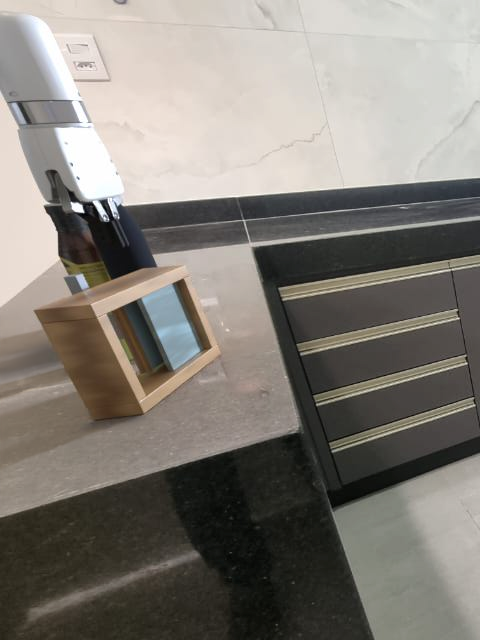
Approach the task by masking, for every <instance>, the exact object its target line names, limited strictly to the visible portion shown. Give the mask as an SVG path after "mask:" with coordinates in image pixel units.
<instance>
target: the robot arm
mask: <svg viewBox="0 0 480 640" xmlns="http://www.w3.org/2000/svg"><path fill="white" fill-rule="evenodd" d="M0 93H1V95H2V97H3V99H4V101H5V103H6V105H7V107H8V109H9V111H10V113H11V115H12V118H13V119H14V121H15V123H16V125H17V127H18V129H17V135H18V140H19V142H20V146H21V149H22V152H23V155H24V158H25V161H26V164H27V165H28V167H29V170H30V172H31V175H32V177H33V179H34V181H35V184H36V186H37V188H38V190H39V192H40V194H41V196H42V198H43V199H44V201H46V202H47V204H61V205H62V208H63V211H64V212H65V213H71V214H77V215H78V216H79V217H80V218H81V220H82V221H83V222H84V223H85V224H87V225H88V229H89V230H90V231H91V233H92V235H93V237H94V239H95V241H96V243H97V246H98V248H99V249H101V250H106V249H117V248H123V247H126V246H129V242H128V240H127V238H126V235H125V233H124V231H123V229H122V227H121V225H120V222H119V220H118V219H119V214H118V211H117V206H119V205H120V204H123V198H122V197H121V196H122V195H123V194H124V193H125V187H124V184H123V182H122V179H121V176H120V174H119V173H118V170H117V168H116V165H115V164H114V162H113V160H112V158H111V156H110V154H109V152H108V150H107V149H106V147H105V145H104V143H103V142H102V140H101V138H100V137H99V135H98V134H97V132H96V130H95V129H94V128H95V126H94V123H93V121H92V119H91V117H90V114H89V111H88V110H87V108H86V104H85V103H84V102H83V99H82V96H81V95H80V92H79V90H78V88H77V86H76V83H75V81H74V79H73V76H72V74H71V71H70V70H69V67H68V65H67V62H66V60H65V58H64V57H63V54H62V52H61V50H60V47H59V46H58V43H57V41H56V38H55V36H54V35H53V32H52V30H51V28H50V27H49V25H48V24H47V23H46V22H45V21H44V20H43V19H41V18H39V17H37V16H35V15H33V14H29V13H25V12H19V11H11V10H10V11H8V10H0Z"/></svg>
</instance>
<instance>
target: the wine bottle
mask: <svg viewBox="0 0 480 640" xmlns="http://www.w3.org/2000/svg"><path fill="white" fill-rule="evenodd" d="M122 204H123V203H122ZM122 204H120V205H119V206H117V211H118V214H119V219H118V220H119V222H120V225H121V227H122V229H123V231H124V233H125V235H126V238H127V240H128V242H129V246H126V247H123V248H117V249H106V250H101V249H99V248H98V246H97V243H96V241H95V239H94V237H93V235H92V233H91V236H92V239H93V242H94V244H95V246H96V248H97V250H98V252H99V254H100V257H101V259H102V261H103V263H104V265H105V267H106V269H107V272H108V274H109V276H110V278H111V280H114V279H117V278H119V277H122V276H124V275H127V274H130V273H132V272H135V271H138V270H140V269H143V268H155V267H158V264H157V262H156V259H155V258H154V257H155V256H154V255H153V253H152V250H151V248H150V245H149V243H148V241H147V239H146V235H145V233H144V231H143V230H142V228H141V227H140V225H139V224H138V223H137V221H136V220H135V218H134V216H133V215H131V214H130V212H129V211H128V210H127V208H125V207H124V205H122ZM90 232H91V231H90Z"/></svg>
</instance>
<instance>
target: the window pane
mask: <svg viewBox="0 0 480 640" xmlns="http://www.w3.org/2000/svg"><path fill="white" fill-rule="evenodd" d="M63 279H64V282H65V284H66V286H67V288H68V291H70V294H71V296H72V295H74V294H77V293H80V292H82V291H85V290H87V289H90V288H89V286H88V284H87V282H86V280H85V278H84V276H83V274H73V275H66V276H64V277H63ZM111 313H112V314H107V316H108V318H109V320H110V322H111V324H112V326H113V329H114V331H115V333H116V335H117V337H118V339H124V340H125V342H126V344H127V346H128V348H129V350H130V353H131V355H132V357H133V361H134V363H135V365H136V367H137V369H138V371H139V374H146V373H150V372H152V371H153V369H155V368H156V367H158V366H159V365H161V364H162V363H164V360H163V358H162V355H161V353H160V351H159V349H158V347H157V344H156V342H155V340H154V338H153V336H152V333H151V331H150V329H149V327H148V325H147V322H146V320H145V318H144V316H143V314H142V311H141V309H140V307H139V305H138V303H137V300H135V301H133V302H131V303H128V304H126V305H124V306H122V307H120V308H117V309H115V310H113V311H111Z"/></svg>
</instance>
